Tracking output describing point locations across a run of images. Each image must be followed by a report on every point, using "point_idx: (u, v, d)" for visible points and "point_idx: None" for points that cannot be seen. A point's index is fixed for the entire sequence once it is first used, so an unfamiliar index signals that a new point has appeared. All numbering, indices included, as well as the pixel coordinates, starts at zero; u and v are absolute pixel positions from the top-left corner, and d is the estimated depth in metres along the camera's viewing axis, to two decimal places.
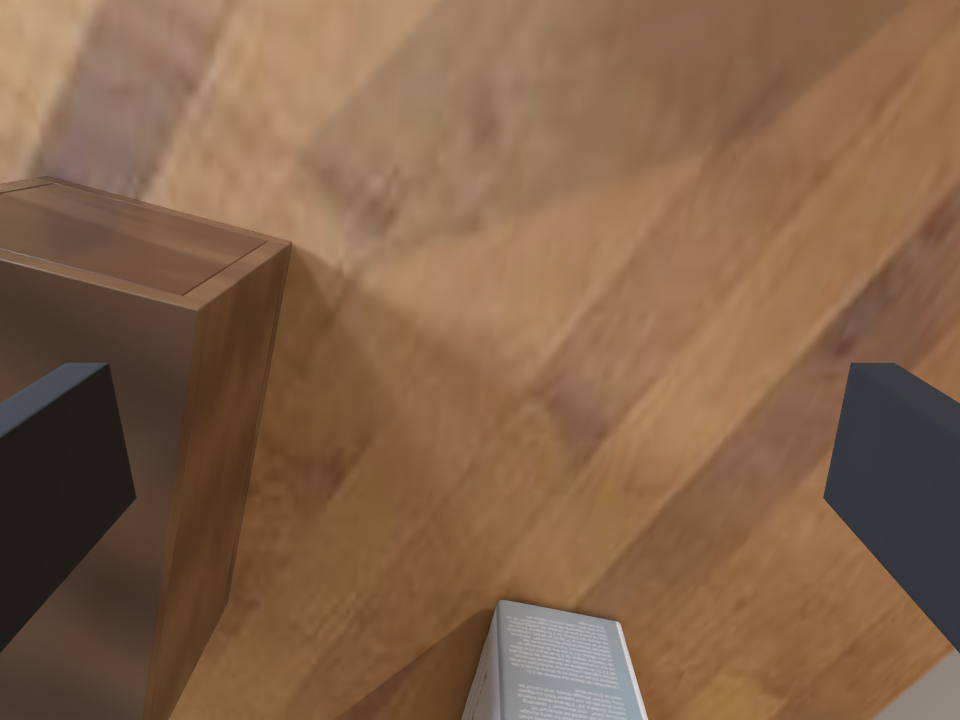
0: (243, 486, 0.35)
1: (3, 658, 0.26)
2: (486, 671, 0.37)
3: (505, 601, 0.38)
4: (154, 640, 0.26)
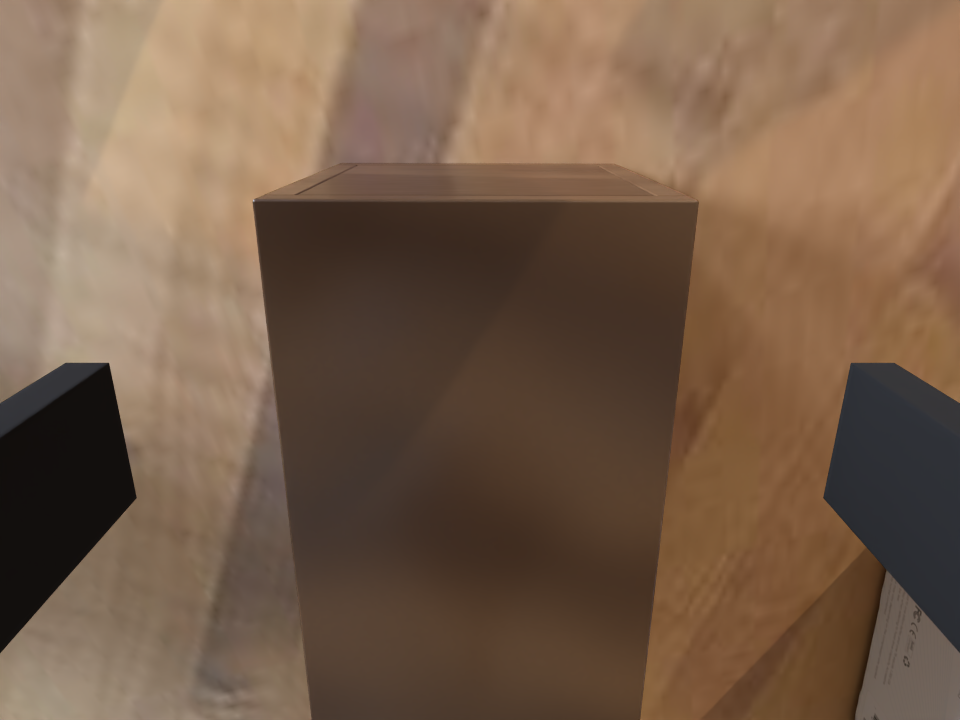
0: None
1: (479, 688, 0.22)
2: (916, 606, 0.31)
3: None
4: (649, 630, 0.22)
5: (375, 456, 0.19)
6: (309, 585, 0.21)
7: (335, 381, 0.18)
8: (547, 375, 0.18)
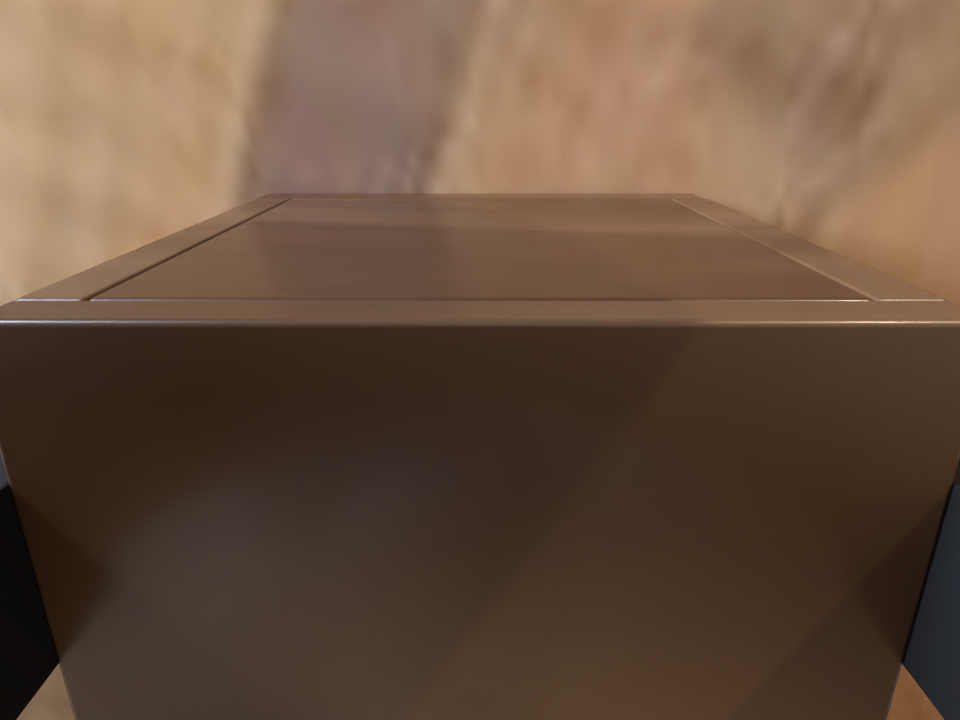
0: None
1: None
2: None
3: None
4: None
5: None
6: None
7: (189, 674, 0.09)
8: (630, 664, 0.09)
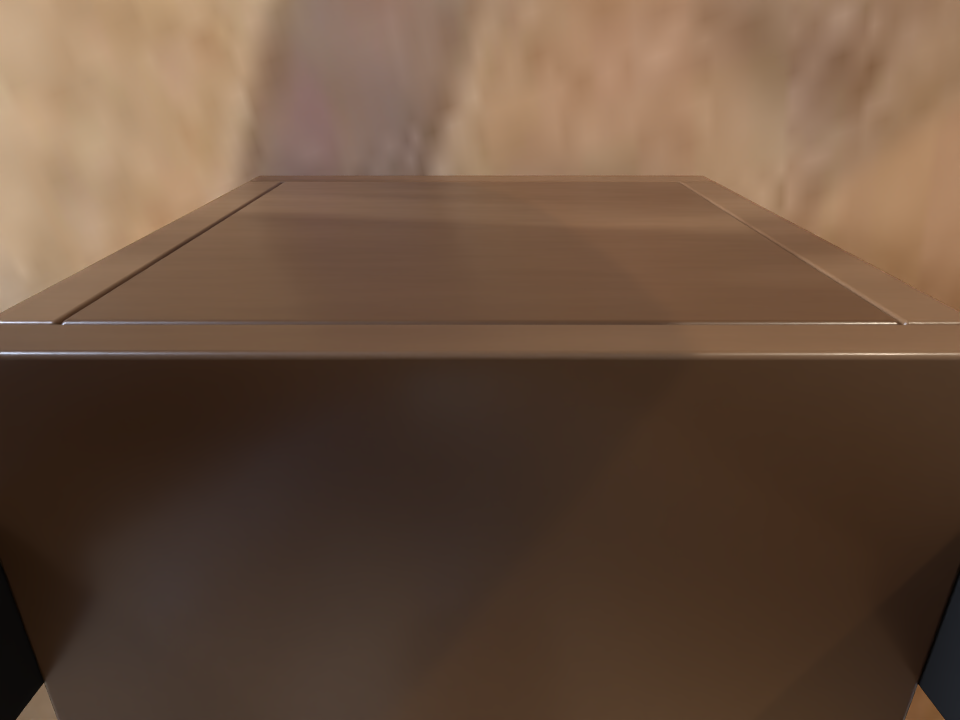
0: None
1: None
2: None
3: None
4: None
5: None
6: None
7: (180, 701, 0.09)
8: (635, 692, 0.09)
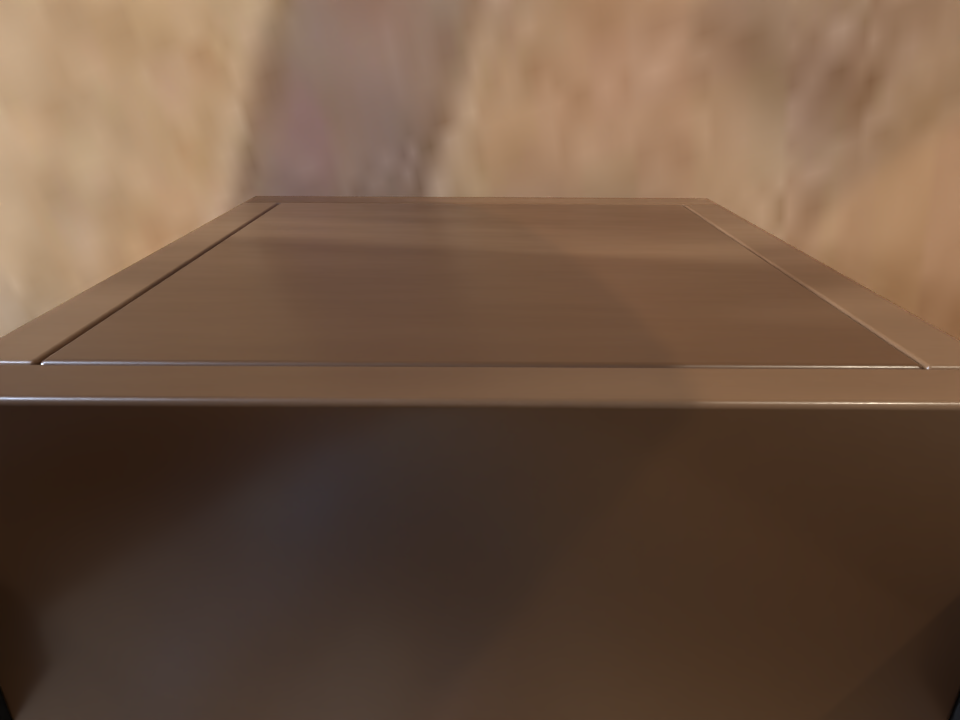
0: None
1: None
2: None
3: None
4: None
5: None
6: None
7: None
8: None
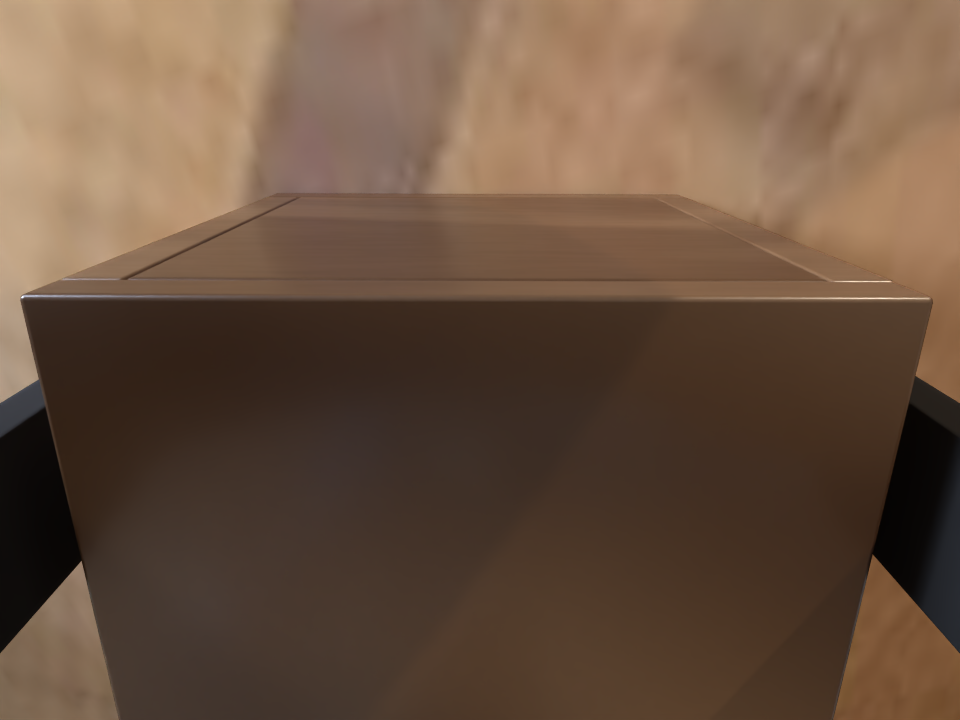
0: None
1: None
2: None
3: None
4: None
5: None
6: None
7: (212, 622, 0.10)
8: (612, 611, 0.10)
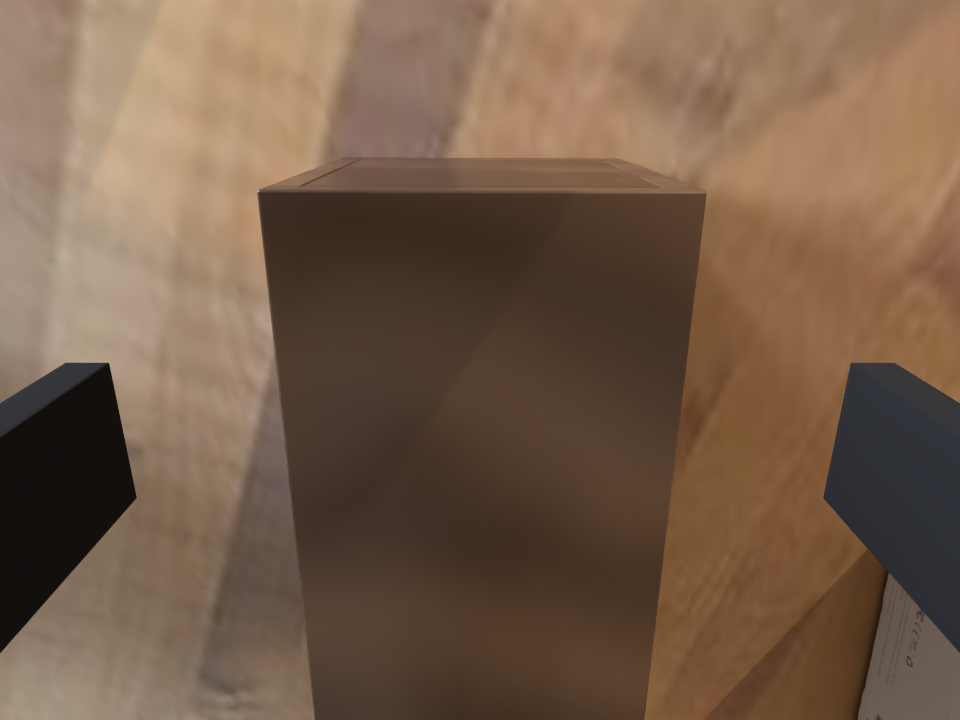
0: None
1: (483, 684, 0.22)
2: None
3: None
4: (654, 626, 0.21)
5: (379, 449, 0.19)
6: (313, 580, 0.21)
7: (339, 374, 0.18)
8: (553, 368, 0.18)
